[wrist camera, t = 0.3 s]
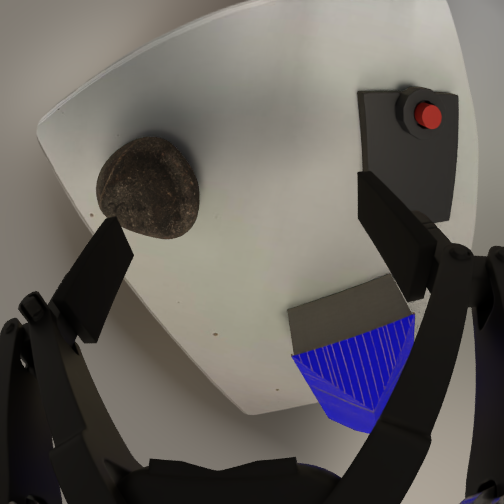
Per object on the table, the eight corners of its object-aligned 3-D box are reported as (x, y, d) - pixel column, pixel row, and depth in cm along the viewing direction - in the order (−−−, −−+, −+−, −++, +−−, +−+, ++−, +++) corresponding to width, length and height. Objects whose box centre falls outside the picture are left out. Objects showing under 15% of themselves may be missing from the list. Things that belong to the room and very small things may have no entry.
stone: (142, 242, 34) (130, 267, 30) (89, 172, 28) (67, 191, 24) (221, 199, 31) (218, 222, 27) (167, 114, 26) (153, 124, 21)
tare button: (413, 102, 22) (421, 104, 21) (432, 102, 22) (441, 105, 20) (414, 125, 23) (422, 129, 22) (433, 125, 23) (441, 129, 22)
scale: (356, 85, 24) (369, 88, 21) (449, 87, 23) (468, 92, 20) (363, 227, 34) (373, 243, 31) (442, 214, 32) (456, 228, 30)
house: (396, 358, 51) (419, 425, 38) (322, 383, 55) (334, 452, 42) (391, 271, 38) (438, 362, 25) (284, 309, 41) (298, 410, 28)
